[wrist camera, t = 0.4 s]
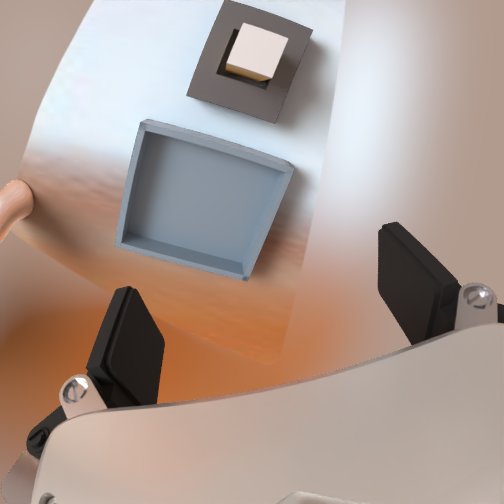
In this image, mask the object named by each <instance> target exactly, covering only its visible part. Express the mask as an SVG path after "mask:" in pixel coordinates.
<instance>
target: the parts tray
mask: <svg viewBox="0 0 504 504" xmlns="http://www.w3.org/2000/svg"><path fill="white" fill-rule="evenodd" d="M294 170H295V168H294V167H293V166H292V165H291V164H290V163H289V162H288V161H286V160H283V159H280V158H277V157H274V156H272V155H269V154H266V153H263V152H260V151H257V150H254V149H251V148H248V147H245V146H242V145H239V144H236V143H233V142H229V141H226V140H223V139H220V138H216V137H213V136H210V135H206V134H203V133H199V132H196V131H192V130H189V129H185V128H181V127H178V126H174V125H170V124H166V123H162V122H158V121H154V120H150V119H147V120H144V121H141V122H140V125H139V129H138V133H137V136H136V140H135V144H134V148H133V152H132V156H131V161H130V165H129V169H128V174H127V179H126V183H125V188H124V193H123V199H122V204H121V210H120V215H119V221H118V228H117V234H116V241H115V247H117V248H121V249H125V250H128V251H132V252H135V253H139V254H143V255H146V256H150V257H154V258H158V259H161V260H165V261H169V262H173V263H176V264H180V265H184V266H188V267H192V268H196V269H200V270H203V271H207V272H211V273H215V274H219V275H223V276H227V277H231V278H235V279H239V280H243V281H248V279H249V277H250V274H251V272H252V270H253V267H254V265H255V263H256V260H257V258H258V255H259V253H260V251H261V248H262V246H263V244H264V241H265V239H266V237H267V234H268V232H269V229H270V227H271V225H272V222H273V220H274V218H275V215H276V213H277V210H278V208H279V206H280V203H281V201H282V198H283V196H284V194H285V191H286V189H287V187H288V184H289V182H290V179H291V177H292V175H293V172H294Z"/></svg>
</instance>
